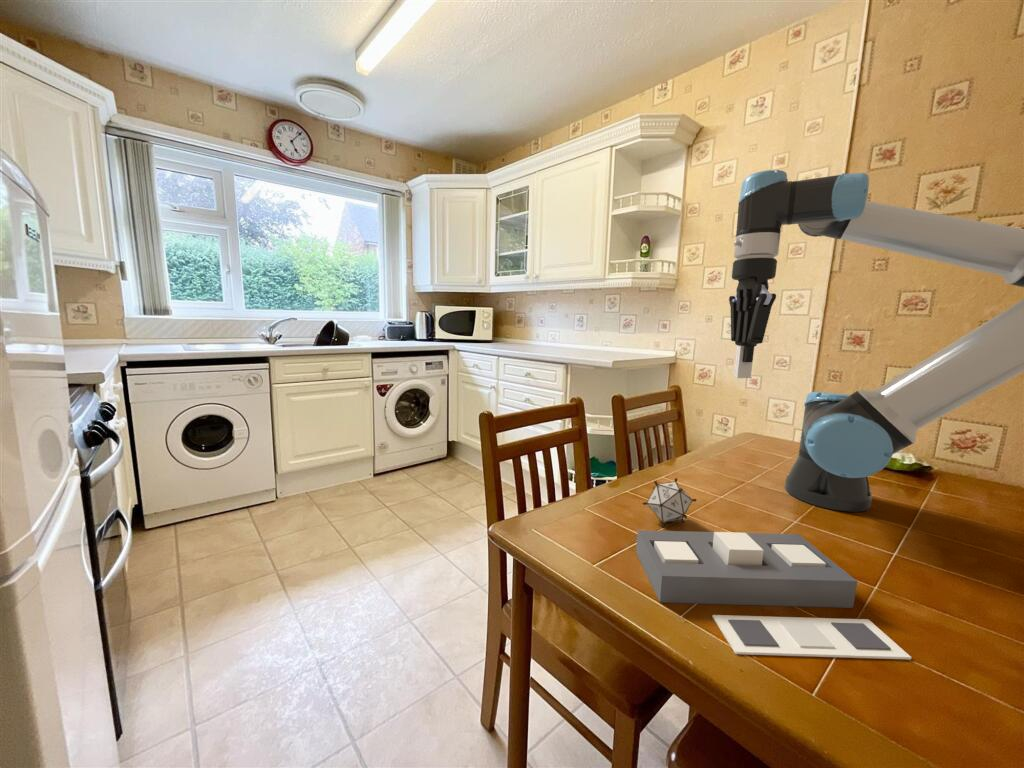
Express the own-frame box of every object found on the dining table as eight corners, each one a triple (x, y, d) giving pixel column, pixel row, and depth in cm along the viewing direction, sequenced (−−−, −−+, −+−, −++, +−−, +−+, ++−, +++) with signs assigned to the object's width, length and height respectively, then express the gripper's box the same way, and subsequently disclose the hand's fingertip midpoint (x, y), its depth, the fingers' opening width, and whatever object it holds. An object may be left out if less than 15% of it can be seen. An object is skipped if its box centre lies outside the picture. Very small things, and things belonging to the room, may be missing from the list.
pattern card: (868, 621, 54) (868, 618, 54) (911, 659, 48) (911, 655, 48) (712, 616, 54) (712, 613, 54) (735, 654, 48) (736, 650, 48)
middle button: (743, 550, 64) (745, 532, 64) (761, 569, 59) (763, 550, 59) (712, 549, 64) (714, 531, 64) (727, 568, 59) (729, 549, 59)
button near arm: (800, 562, 64) (803, 544, 64) (823, 582, 60) (826, 563, 59) (769, 561, 64) (771, 544, 64) (789, 581, 60) (791, 562, 59)
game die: (676, 543, 78) (704, 519, 71) (633, 523, 79) (656, 498, 72) (679, 504, 85) (705, 479, 78) (640, 487, 86) (662, 460, 79)
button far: (683, 559, 65) (685, 541, 64) (696, 579, 60) (698, 560, 59) (653, 558, 65) (654, 541, 64) (663, 578, 60) (664, 559, 59)
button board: (795, 556, 68) (798, 534, 67) (852, 607, 56) (857, 581, 55) (635, 552, 68) (637, 530, 68) (659, 602, 57) (662, 575, 56)
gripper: (720, 262, 88) (709, 372, 92) (754, 253, 75) (740, 382, 79) (755, 263, 88) (743, 373, 92) (796, 254, 75) (780, 383, 79)
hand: (742, 377), depth 85 cm, fingers closed
